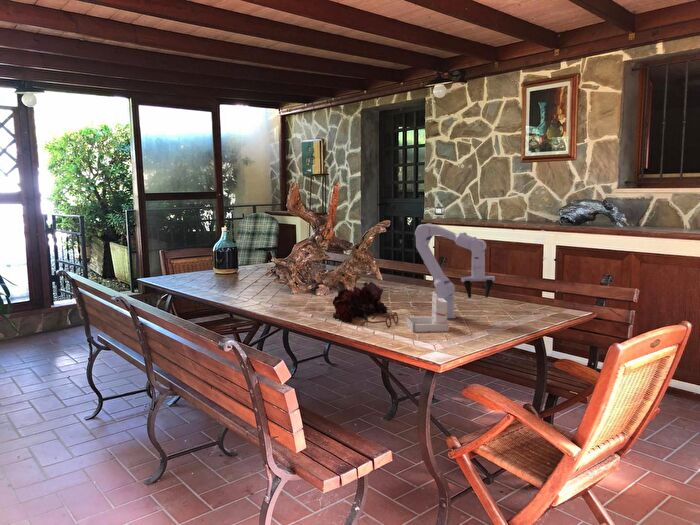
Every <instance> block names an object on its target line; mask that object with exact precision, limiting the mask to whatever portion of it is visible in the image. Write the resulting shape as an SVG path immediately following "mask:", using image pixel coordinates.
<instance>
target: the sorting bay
mask: <svg viewBox="0 0 700 525" xmlns="http://www.w3.org/2000/svg"><path fill="white" fill-rule="evenodd" d="M406 325H407V326H408V327H410V328H409V329H410V330H411V332H413V333H422V332H423V333H427V332H428V331H430V332H449V331H450V322H447V323H444V324H432V315H431V316H408V315H407V317H406ZM430 332H429V333H430Z"/></svg>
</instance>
